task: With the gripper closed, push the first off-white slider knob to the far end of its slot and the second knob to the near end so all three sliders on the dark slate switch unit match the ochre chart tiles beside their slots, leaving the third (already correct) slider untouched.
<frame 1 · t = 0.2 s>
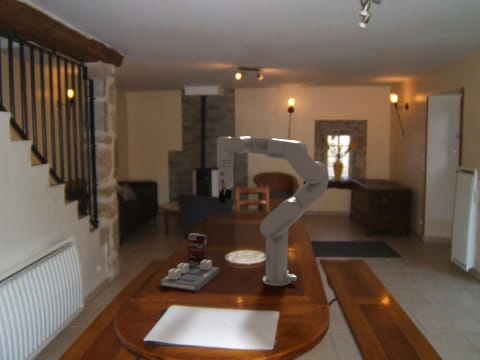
hand: (225, 200, 190), 36 cm above the table, tool pointing down, fingers open, 9 cm apart
switch 3: (174, 273, 184), point 5 cm above the table, slide at 8.0 cm
switch 1: (206, 264, 196), point 5 cm above the table, slide at 0.0 cm
supplement box: (197, 265, 210), on the table
switch unit: (191, 278, 190), on the table
switch 2: (183, 267, 191), point 5 cm above the table, slide at 8.0 cm
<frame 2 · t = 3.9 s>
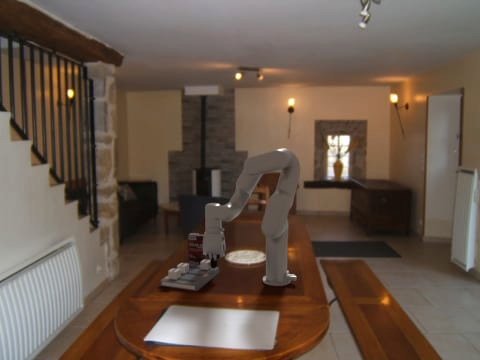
hand: (213, 267, 194), 4 cm above the table, tool pointing down, fingers closed
switch 1: (206, 264, 196), point 5 cm above the table, slide at 0.1 cm, touching gripper
everything else where it was.
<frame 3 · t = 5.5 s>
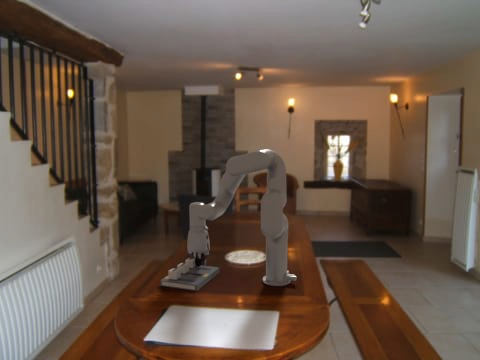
hand: (198, 265, 197), 4 cm above the table, tool pointing down, fingers closed
switch 1: (190, 262, 199), point 5 cm above the table, slide at 8.1 cm, touching gripper
everything else where it was.
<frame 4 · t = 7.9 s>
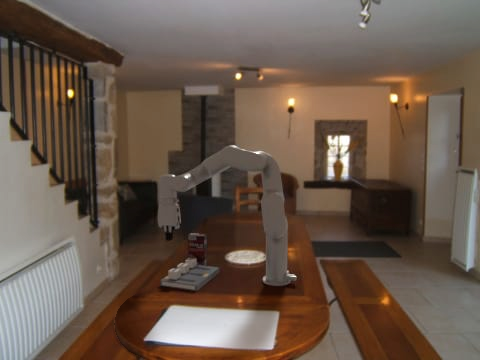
hand: (169, 239, 192), 17 cm above the table, tool pointing down, fingers closed
switch 1: (191, 262, 199), point 5 cm above the table, slide at 8.1 cm
everything else where it was.
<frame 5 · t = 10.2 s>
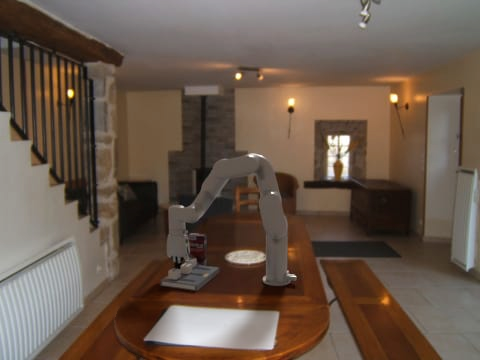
hand: (178, 270, 192), 3 cm above the table, tool pointing down, fingers closed
switch 2: (186, 268, 191), point 5 cm above the table, slide at 6.3 cm, touching gripper
everything else where it was.
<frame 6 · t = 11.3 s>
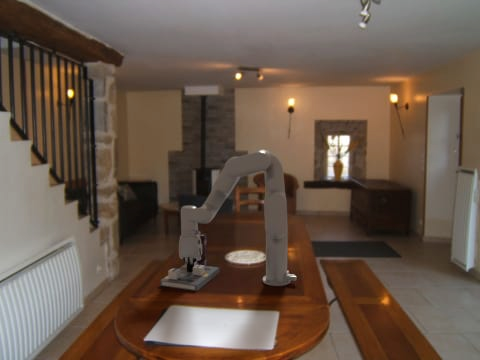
hand: (190, 271, 190), 3 cm above the table, tool pointing down, fingers closed
switch 2: (198, 269, 188), point 5 cm above the table, slide at 0.0 cm, touching gripper
everything else where it was.
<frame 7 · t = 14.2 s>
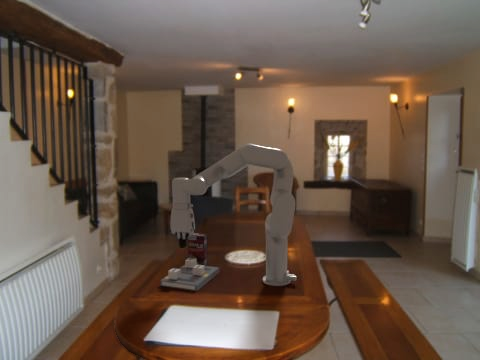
hand: (183, 247, 181), 17 cm above the table, tool pointing down, fingers closed
switch 2: (198, 269, 188), point 5 cm above the table, slide at -0.1 cm
everything else where it was.
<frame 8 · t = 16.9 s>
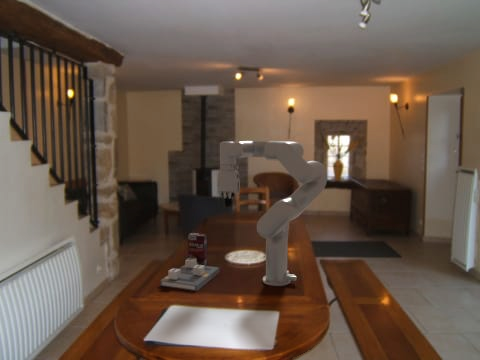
hand: (228, 206, 196), 32 cm above the table, tool pointing down, fingers closed
nothing on the table moved.
at the end: switch 1 slide at 8.1 cm; switch 2 slide at -0.1 cm; switch 3 slide at 8.0 cm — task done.
